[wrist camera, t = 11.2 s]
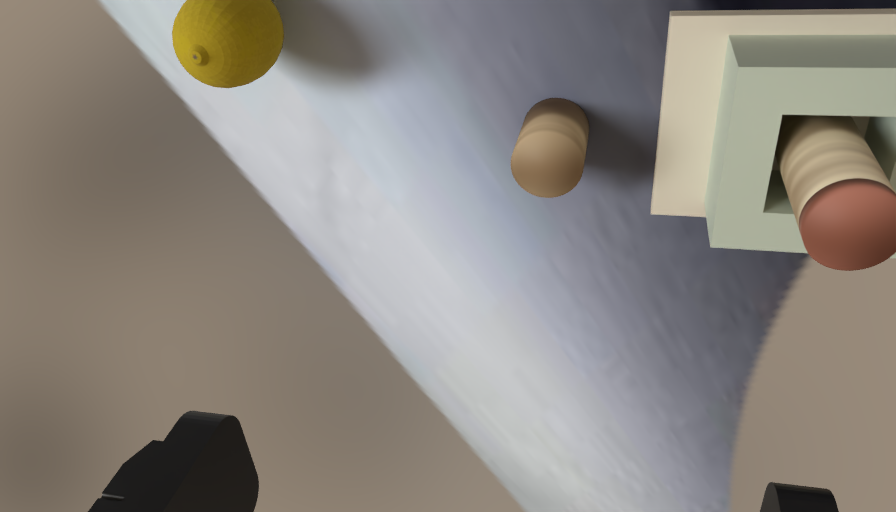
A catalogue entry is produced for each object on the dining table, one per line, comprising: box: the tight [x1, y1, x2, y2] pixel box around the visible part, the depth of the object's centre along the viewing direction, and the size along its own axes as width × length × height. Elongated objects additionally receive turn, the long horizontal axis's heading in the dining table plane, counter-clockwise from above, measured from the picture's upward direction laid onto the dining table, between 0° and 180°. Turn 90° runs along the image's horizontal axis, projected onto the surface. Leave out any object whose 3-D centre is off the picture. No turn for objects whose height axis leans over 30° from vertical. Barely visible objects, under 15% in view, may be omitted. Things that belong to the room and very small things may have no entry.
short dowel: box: [511, 98, 589, 198], centre depth 42 cm, size 4×4×5 cm
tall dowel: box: [775, 115, 896, 271], centre depth 35 cm, size 4×4×11 cm
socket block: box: [651, 9, 896, 258], centre depth 37 cm, size 12×16×6 cm
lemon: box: [172, 0, 284, 88], centre depth 40 cm, size 6×6×8 cm
